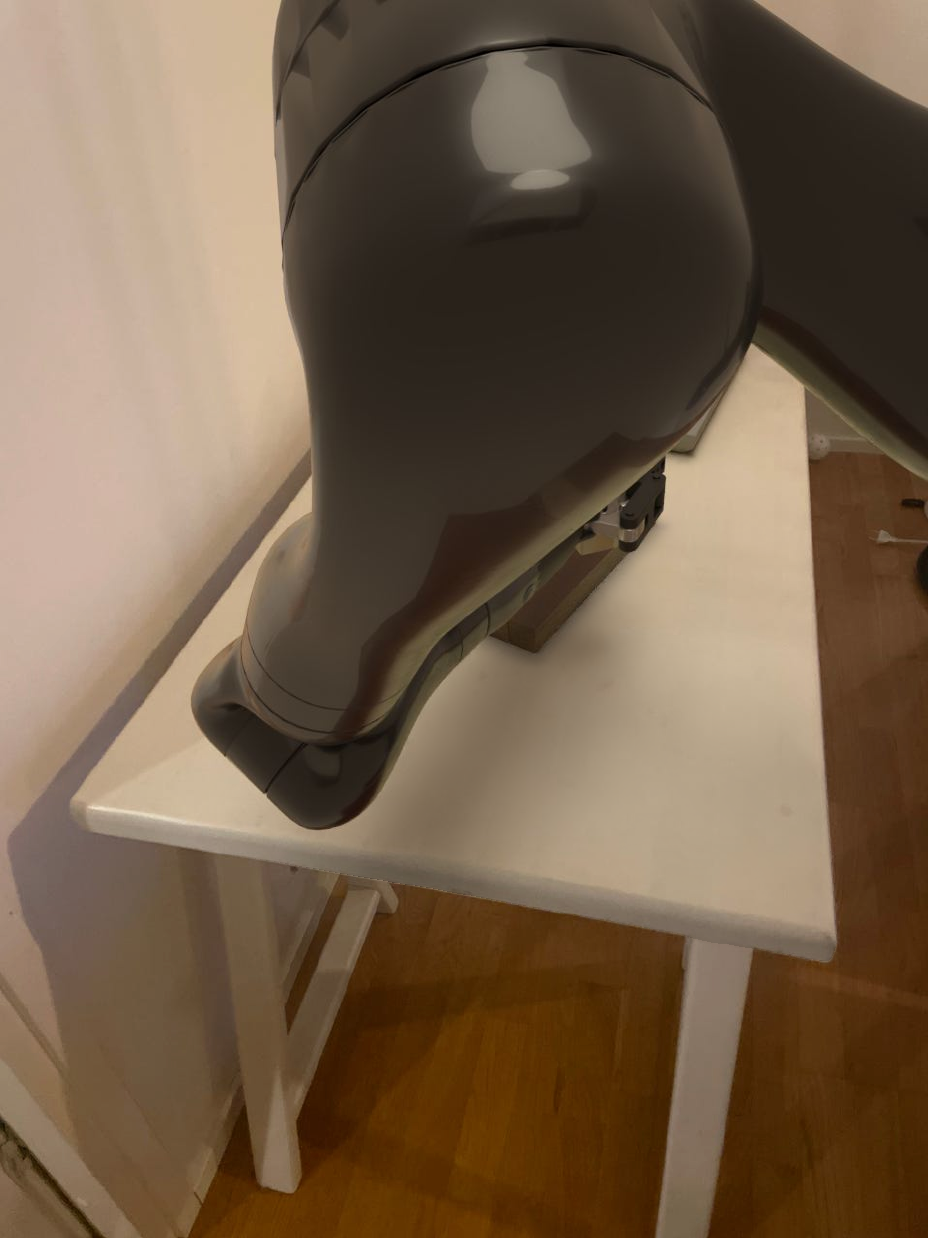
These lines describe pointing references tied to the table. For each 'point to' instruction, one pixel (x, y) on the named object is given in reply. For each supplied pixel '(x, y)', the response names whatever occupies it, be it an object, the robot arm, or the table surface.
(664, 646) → the table surface
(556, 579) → the socket pad
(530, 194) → the robot arm
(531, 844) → the table surface
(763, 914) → the table surface
